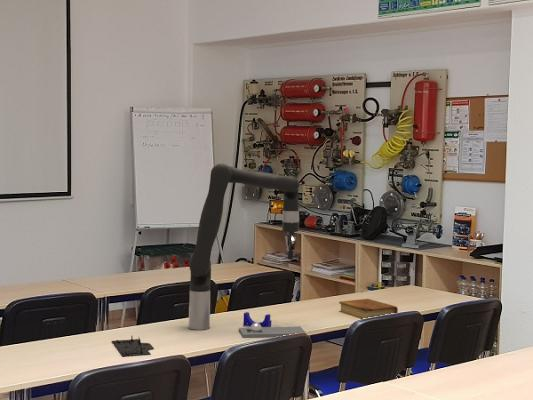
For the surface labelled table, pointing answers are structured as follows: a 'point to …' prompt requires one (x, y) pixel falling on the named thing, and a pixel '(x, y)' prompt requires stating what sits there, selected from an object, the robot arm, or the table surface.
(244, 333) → the pocket slab
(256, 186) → the robot arm
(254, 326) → the steel ball
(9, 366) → the table surface
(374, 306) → the diary
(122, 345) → the circuit board
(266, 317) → the cable clip
